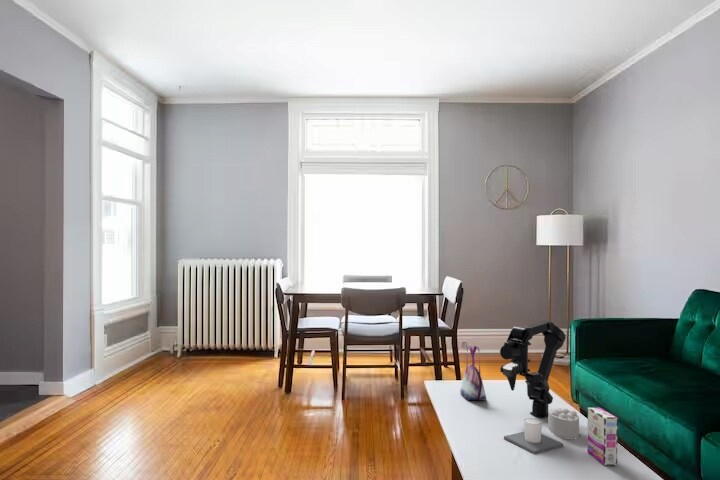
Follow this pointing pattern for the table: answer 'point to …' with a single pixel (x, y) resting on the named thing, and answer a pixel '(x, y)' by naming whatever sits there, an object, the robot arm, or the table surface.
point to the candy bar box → (602, 436)
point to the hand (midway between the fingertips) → (520, 393)
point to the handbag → (472, 380)
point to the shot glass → (532, 430)
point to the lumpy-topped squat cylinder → (563, 423)
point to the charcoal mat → (534, 448)
